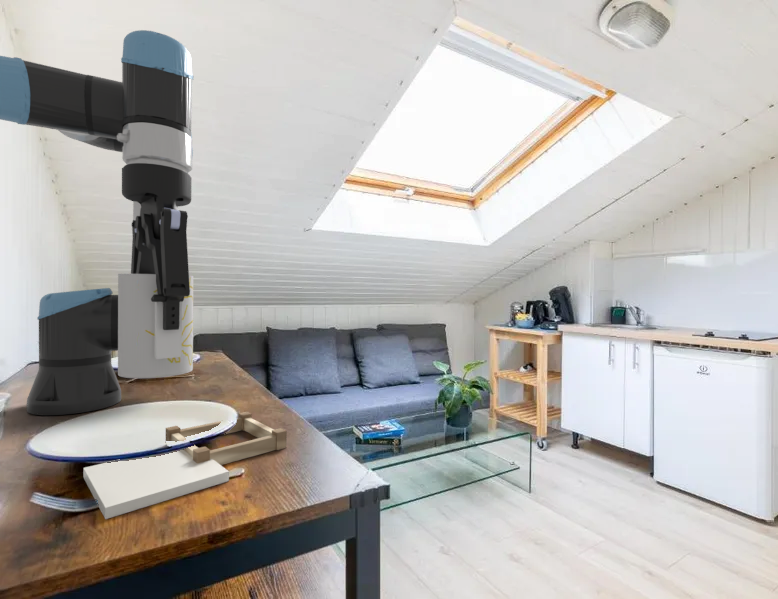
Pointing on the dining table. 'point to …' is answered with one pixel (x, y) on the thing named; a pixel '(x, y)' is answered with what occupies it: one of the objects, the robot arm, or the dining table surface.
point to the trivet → (149, 481)
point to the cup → (148, 330)
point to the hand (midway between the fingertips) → (156, 352)
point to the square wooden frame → (224, 455)
